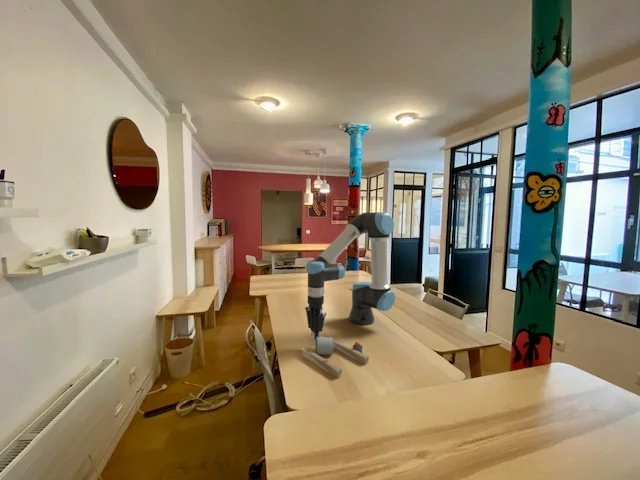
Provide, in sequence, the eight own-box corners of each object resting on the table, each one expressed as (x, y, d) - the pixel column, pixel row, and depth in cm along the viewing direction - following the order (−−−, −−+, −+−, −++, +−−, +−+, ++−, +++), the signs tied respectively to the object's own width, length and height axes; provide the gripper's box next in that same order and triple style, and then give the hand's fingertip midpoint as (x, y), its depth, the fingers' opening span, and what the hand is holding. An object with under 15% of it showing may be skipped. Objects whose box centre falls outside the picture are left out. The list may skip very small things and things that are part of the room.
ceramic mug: (334, 357, 125) (335, 340, 125) (316, 358, 125) (316, 340, 124) (331, 346, 136) (331, 331, 135) (314, 347, 135) (314, 331, 135)
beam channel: (337, 342, 141) (337, 331, 140) (374, 360, 123) (374, 348, 123) (301, 355, 127) (302, 344, 126) (337, 378, 109) (338, 365, 109)
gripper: (300, 293, 134) (300, 341, 136) (318, 300, 124) (317, 352, 126) (313, 291, 139) (312, 337, 141) (331, 297, 129) (330, 347, 131)
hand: (314, 344), depth 133 cm, fingers closed
